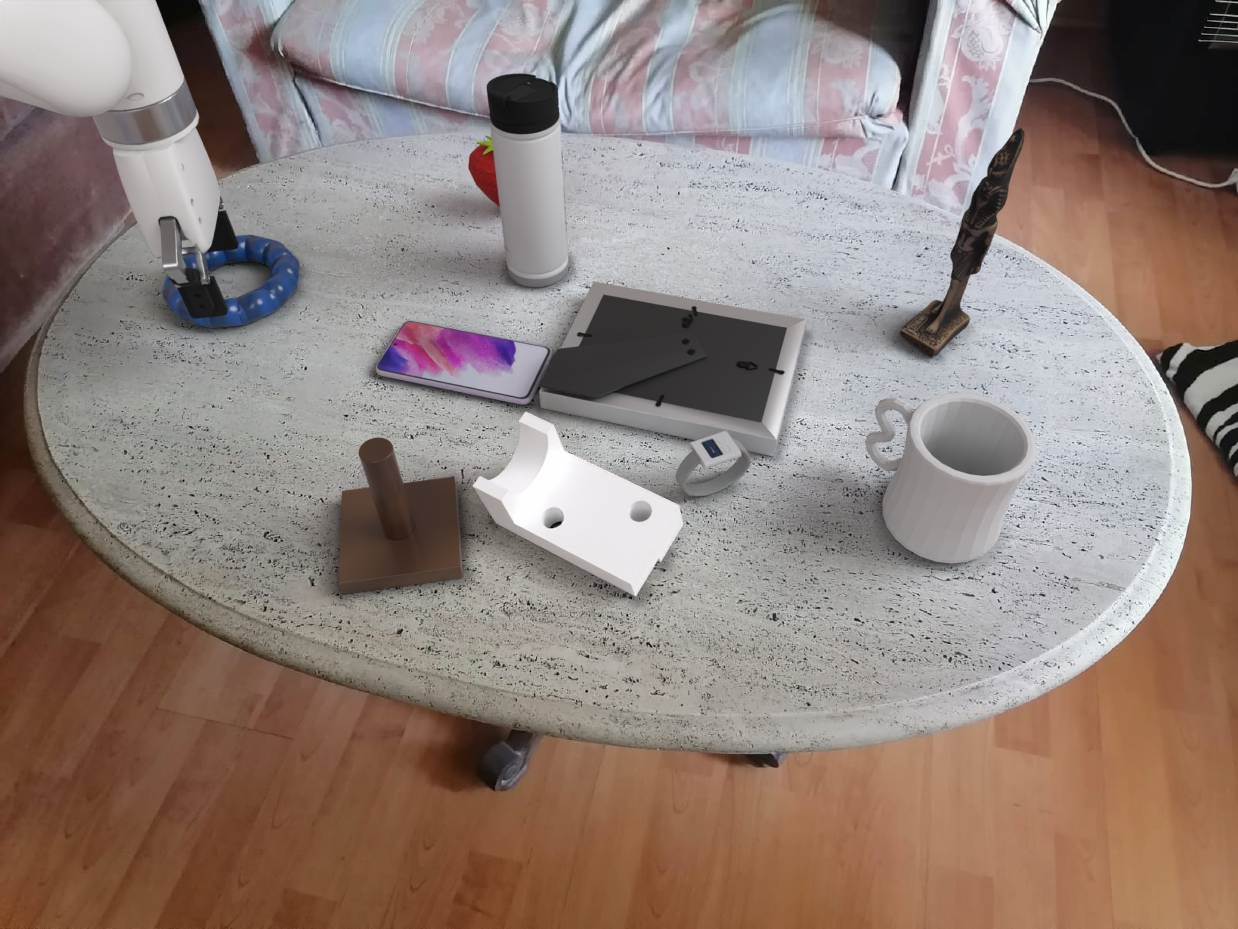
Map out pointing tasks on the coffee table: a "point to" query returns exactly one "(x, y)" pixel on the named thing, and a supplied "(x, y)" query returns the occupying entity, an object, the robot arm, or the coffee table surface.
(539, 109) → the travel mug
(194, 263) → the blue spotted ring
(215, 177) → the robot arm
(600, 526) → the bracket
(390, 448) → the peg stand
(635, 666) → the coffee table surface
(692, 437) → the picture frame
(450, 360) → the smartphone
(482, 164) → the strawberry
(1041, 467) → the coffee table surface
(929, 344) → the statue
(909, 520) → the mug
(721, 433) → the wristwatch
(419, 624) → the coffee table surface
